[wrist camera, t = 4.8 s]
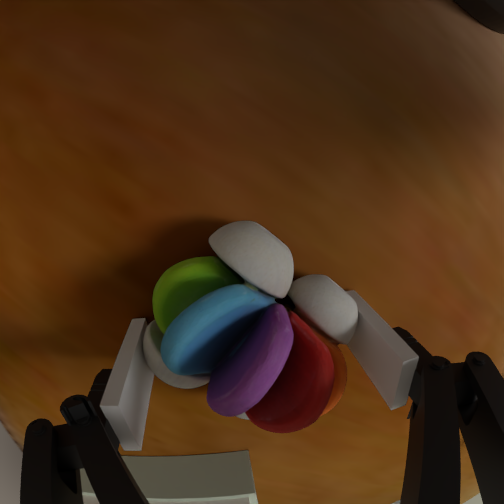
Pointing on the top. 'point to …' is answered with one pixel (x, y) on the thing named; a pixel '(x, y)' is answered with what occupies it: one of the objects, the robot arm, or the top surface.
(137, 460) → the grey square box
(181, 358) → the chunky wheeled toy
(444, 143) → the top surface
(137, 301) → the top surface
